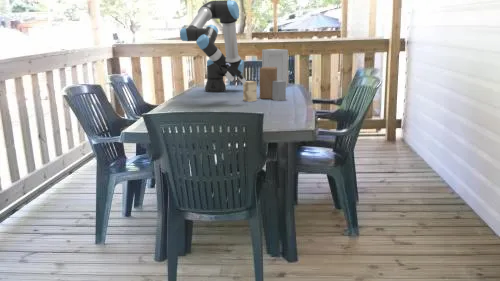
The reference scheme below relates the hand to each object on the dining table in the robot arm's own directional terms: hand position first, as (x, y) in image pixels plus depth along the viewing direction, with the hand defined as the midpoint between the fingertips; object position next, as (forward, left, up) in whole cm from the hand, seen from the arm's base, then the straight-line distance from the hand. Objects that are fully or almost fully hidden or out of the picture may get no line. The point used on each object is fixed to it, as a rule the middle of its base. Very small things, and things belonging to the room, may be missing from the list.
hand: (238, 81), depth 280 cm
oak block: (-1, +9, -13) cm, 16 cm away
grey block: (+7, +26, -13) cm, 30 cm away
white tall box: (-46, +62, -13) cm, 79 cm away
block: (-3, +25, -13) cm, 28 cm away
